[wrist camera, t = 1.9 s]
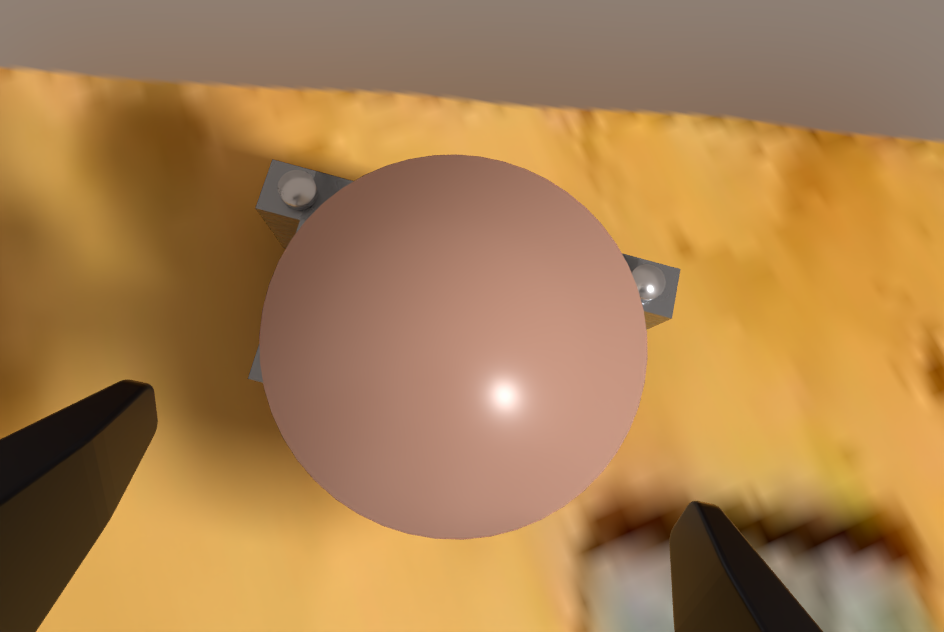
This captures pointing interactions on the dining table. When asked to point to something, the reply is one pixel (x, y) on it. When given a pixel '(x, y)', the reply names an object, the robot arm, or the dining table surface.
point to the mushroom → (453, 347)
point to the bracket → (304, 190)
